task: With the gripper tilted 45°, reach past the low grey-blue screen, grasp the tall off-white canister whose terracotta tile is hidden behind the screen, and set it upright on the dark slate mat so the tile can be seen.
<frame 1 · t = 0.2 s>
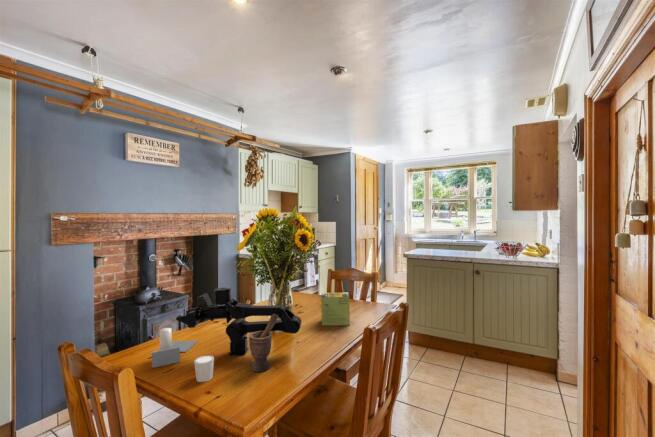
hand: (181, 315, 137), 17 cm above the table, tool horizontal, fingers open, 9 cm apart
screen: (166, 364, 127), on the table
canister: (166, 357, 133), on the table
protein box: (335, 322, 173), on the table
slate mat: (179, 346, 144), on the table
shot glass: (204, 378, 115), on the table
mortar and pestle: (264, 366, 123), on the table
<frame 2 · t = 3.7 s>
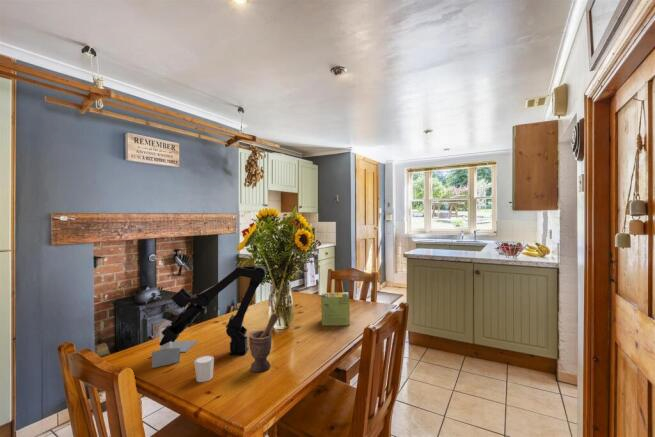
hand: (162, 342, 133), 7 cm above the table, tool tilted 45°, fingers closed on canister, 5 cm apart
canister: (166, 357, 133), on the table, touching gripper
everything else where it was.
when the fingers open (8 cm above the table, at t = 6.8 s): canister drops 1 cm, resting on slate mat.
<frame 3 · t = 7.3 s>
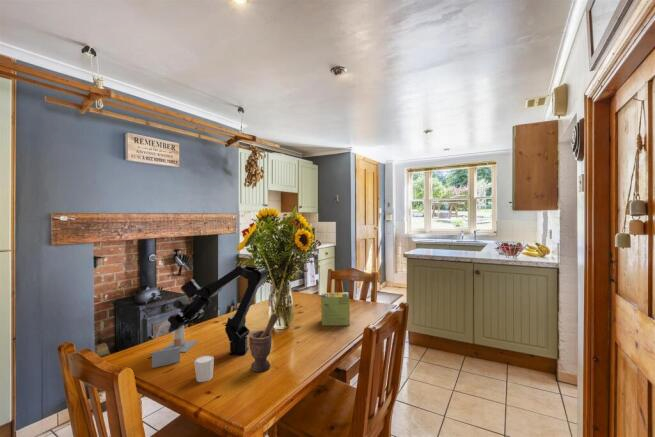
hand: (176, 328, 144), 9 cm above the table, tool tilted 45°, fingers open, 9 cm apart
canister: (179, 346, 144), resting on slate mat
everything else where it was.
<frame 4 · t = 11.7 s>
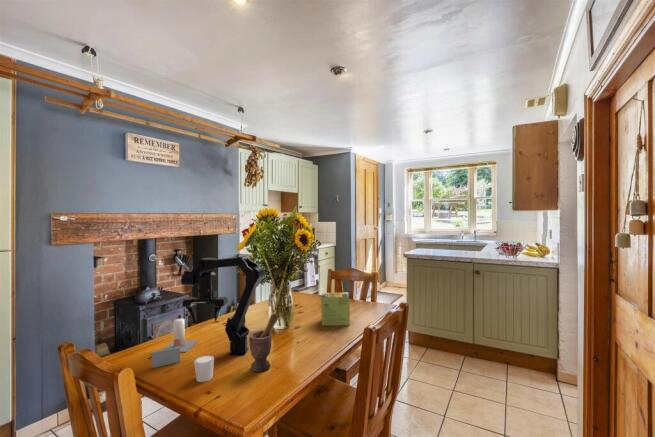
hand: (205, 320, 140), 13 cm above the table, tool pointing down, fingers open, 9 cm apart
nothing on the table moved.
at the end: canister inside the target area on the slate mat (0.1 cm from its centre), point 0.4 cm above the slate mat's base; canister tilted 1°; the gripper is holding nothing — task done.
